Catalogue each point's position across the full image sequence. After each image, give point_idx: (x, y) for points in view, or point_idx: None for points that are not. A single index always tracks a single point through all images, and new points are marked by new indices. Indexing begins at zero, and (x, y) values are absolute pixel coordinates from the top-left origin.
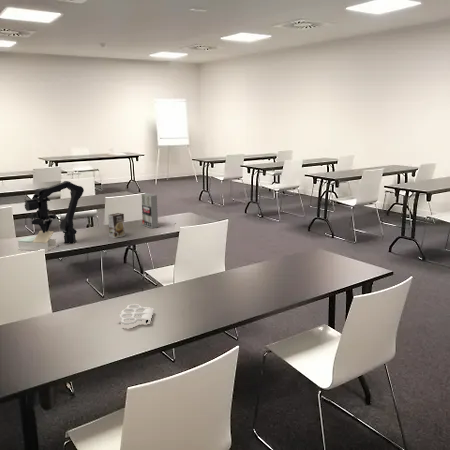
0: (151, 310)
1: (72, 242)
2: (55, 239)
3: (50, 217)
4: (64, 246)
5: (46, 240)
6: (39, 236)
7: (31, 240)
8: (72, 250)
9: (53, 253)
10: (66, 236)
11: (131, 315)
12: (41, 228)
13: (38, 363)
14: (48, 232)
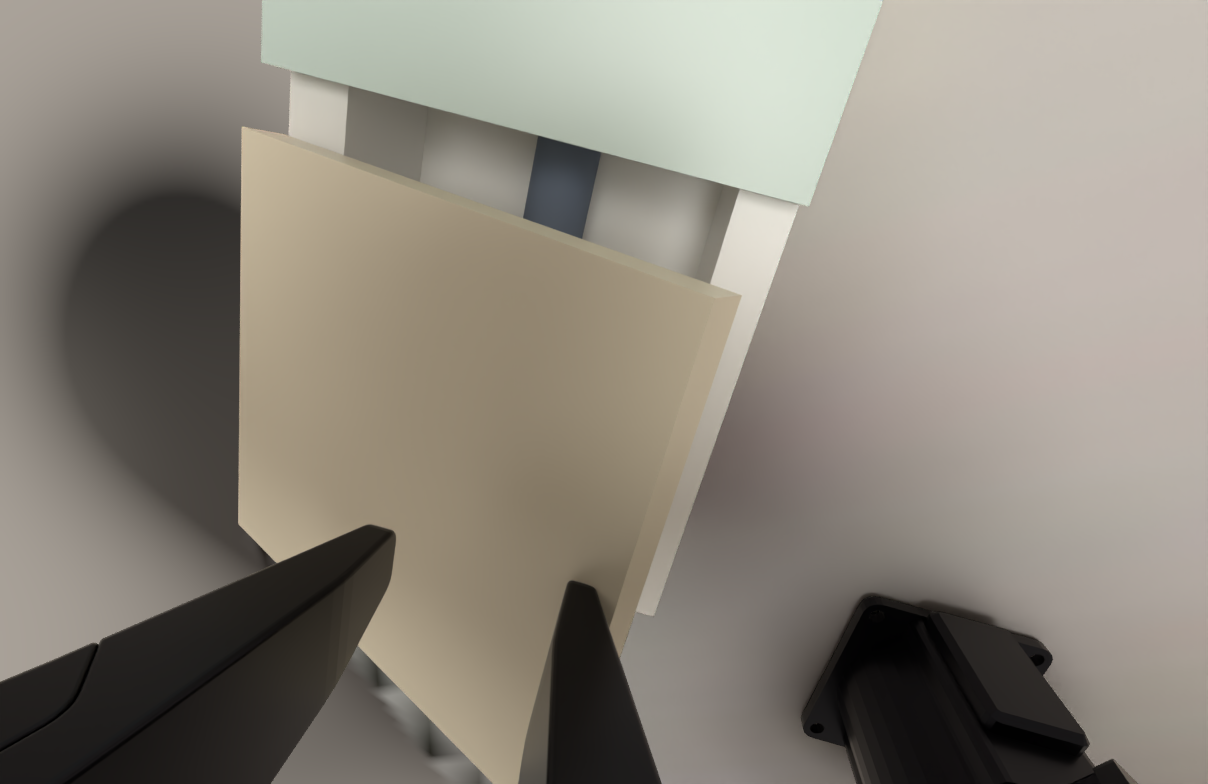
0: None
1: (836, 731)
2: (641, 610)
3: None
4: (650, 632)
5: (274, 537)
6: (391, 322)
7: (374, 14)
8: (427, 752)
9: (260, 550)
10: (903, 769)
11: None
12: (116, 657)
13: None
14: (513, 662)
